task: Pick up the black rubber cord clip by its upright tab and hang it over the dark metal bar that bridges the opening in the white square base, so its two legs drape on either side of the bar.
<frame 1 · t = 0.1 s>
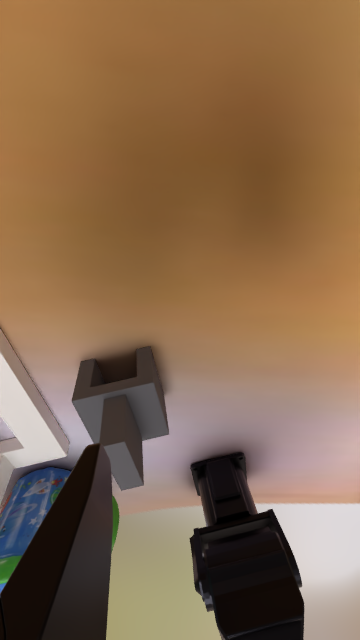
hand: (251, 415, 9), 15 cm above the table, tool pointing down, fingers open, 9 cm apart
cord clip: (125, 379, 26), on the table
snack cup: (53, 482, 32), on the table
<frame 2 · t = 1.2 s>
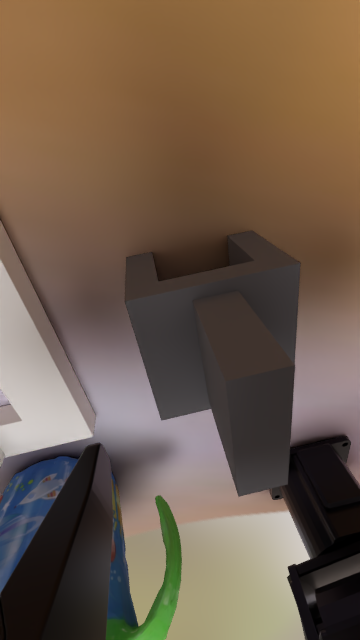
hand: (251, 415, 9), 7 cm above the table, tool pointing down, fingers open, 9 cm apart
cord clip: (198, 299, 15), on the table
snack cup: (66, 481, 21), on the table
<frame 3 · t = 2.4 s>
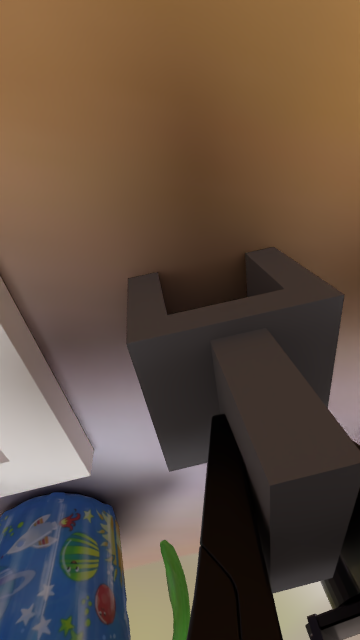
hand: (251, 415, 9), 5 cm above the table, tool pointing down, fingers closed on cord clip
cord clip: (210, 324, 13), on the table, touching gripper
snack cup: (62, 515, 19), on the table
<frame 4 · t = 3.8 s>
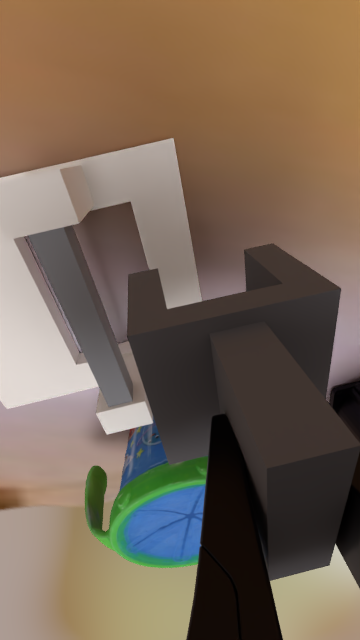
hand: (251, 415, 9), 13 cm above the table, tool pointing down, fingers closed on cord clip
white square base: (102, 285, 20), on the table
cord clip: (209, 320, 13), point 8 cm above the table, touching gripper
snack cup: (174, 407, 27), on the table
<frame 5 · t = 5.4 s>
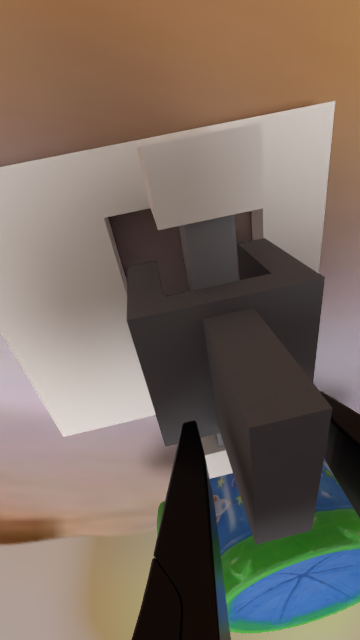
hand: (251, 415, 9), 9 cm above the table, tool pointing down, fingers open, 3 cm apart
white square base: (193, 290, 16), on the table
cord clip: (205, 312, 14), point 3 cm above the table, touching white square base
snack cup: (244, 430, 24), on the table
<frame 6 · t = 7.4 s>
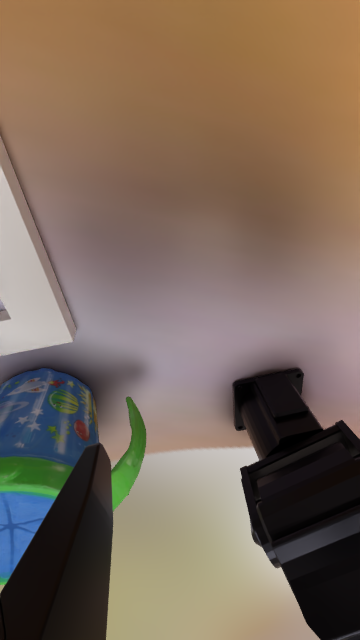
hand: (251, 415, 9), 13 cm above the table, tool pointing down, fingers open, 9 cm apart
snack cup: (49, 397, 24), on the table
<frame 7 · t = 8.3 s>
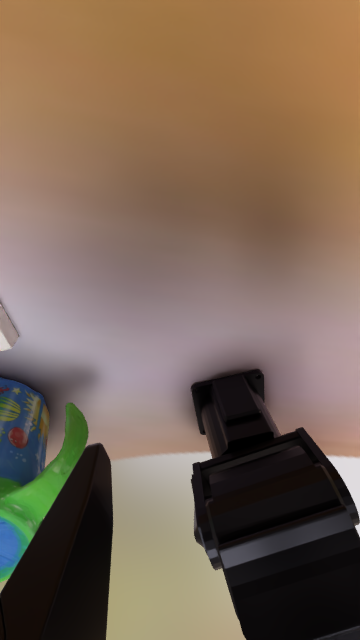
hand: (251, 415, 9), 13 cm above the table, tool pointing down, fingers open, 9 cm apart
snack cup: (3, 405, 24), on the table
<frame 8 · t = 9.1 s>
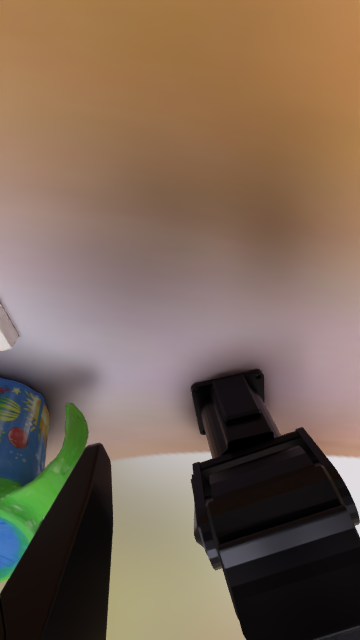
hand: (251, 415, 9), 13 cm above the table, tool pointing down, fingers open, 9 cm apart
snack cup: (3, 405, 24), on the table
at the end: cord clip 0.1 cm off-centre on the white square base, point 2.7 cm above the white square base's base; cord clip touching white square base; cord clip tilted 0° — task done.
